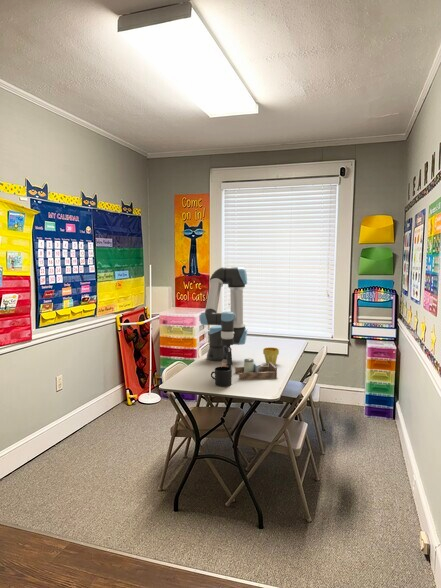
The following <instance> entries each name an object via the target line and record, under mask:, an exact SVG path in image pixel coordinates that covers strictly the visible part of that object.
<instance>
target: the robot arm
mask: <svg viewBox="0 0 441 588" xmlns="http://www.w3.org/2000/svg"><path fill="white" fill-rule="evenodd" d="M208 284H209V289H208V293H207V299H206V300H207V301H206V304H205V305H206V306H205V310H204V312H201V313H200V316H199V321H200V322H199V323H200V324H201V325H204V326H211V327H209V329H208V330H209V331H208V339H209V340H208V343H209V347H208V350H207V354H206V360H208V361H212V362H222V360H225V359H227V364H226V366H227V367H230V368H231V369H232V371H231V376H233V355H232V347H231V346H233V345H235V346H237V345H238V346H239V345H245V344H246V342H247V337H248V328H247V327H246V325H245V324H244V300H243V299H244V295H243V294H244V289H245V287H246V285H247V284H248V276H247V271H246V269H245V267H241V266H234V267H233V266H231V267H230V266H229V267H227V266H226V267H225V266H223V267H219V268H218V269H216V270H215V271H213V273H212V275H211V276H210V278H209V282H208ZM224 285H227V287H228V288H229V290H230V291H229V293H230V300H229V301H230V311H222V312H218V307H219V302H220V298H221V297H220V296H221V290H222V287H223V286H224Z"/></svg>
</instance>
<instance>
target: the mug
mask: <svg viewBox="0 0 441 588" xmlns="http://www.w3.org/2000/svg"><path fill="white" fill-rule="evenodd" d="M231 371H232V372H233V368H232V369H231V368H230V367H222V366H216V367H215V368H214V371H212V372H211V373H210V377H211V379H212V380H214V385H215V386H216V387H221V388H226V387H230V386H231V385H232V377H231ZM213 374H214V376H213Z"/></svg>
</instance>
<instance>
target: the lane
mask: <svg viewBox="0 0 441 588" xmlns="http://www.w3.org/2000/svg"><path fill="white" fill-rule="evenodd" d="M234 373H235V374H238V379H239V380H256V379H257V380H259V379H276V378H278V374H277V373H278V367H276V365H275V364H272V363H271V362H269V364H268V365H261V368H258V372H254V373H244V366H236V367H234Z"/></svg>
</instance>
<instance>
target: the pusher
mask: <svg viewBox="0 0 441 588" xmlns="http://www.w3.org/2000/svg"><path fill="white" fill-rule="evenodd" d="M261 366H262V365H261V364H260V363H257V362H256V361H255V360H254V372H258V368H261Z"/></svg>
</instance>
